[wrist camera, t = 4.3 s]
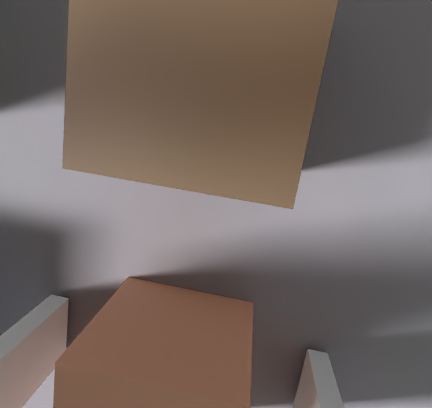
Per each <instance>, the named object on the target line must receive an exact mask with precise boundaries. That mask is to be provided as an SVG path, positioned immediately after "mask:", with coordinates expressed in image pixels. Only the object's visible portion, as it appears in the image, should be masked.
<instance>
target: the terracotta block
mask: <svg viewBox="0 0 432 408" xmlns="http://www.w3.org/2000/svg"><path fill="white" fill-rule="evenodd" d="M253 307H254V302H249V301H244V300H239V299H234V298H229V297H224V296H219V295H215V294H210V293H205V292H200V291H195V290H190V289H185V288H180V287H175V286H170V285H165V284H160V283H156V282H151V281H146V280H141V279H136V278H131V277H128V278H127V279H126V280H125V281H124V283H123V284H122V285H121V286H120V287H119V288H118V290H117V291H116V292H115V293H114V294H113V295H112V297H111V298H110V299H109V300H108V301H107V302H106V304H105V305H104V306H103V307H102V308H101V309H100V311H99V312H98V313H97V314H96V315H95V316H94V318H93V319H92V320H91V321H90V322H89V323H88V325H87V326H86V327H85V328H84V329H83V330H82V332H81V333H80V334H79V335H78V336H77V337H76V339H75V340H74V341H73V342H72V343H71V344H70V345H69V347H68V348H67V349H66V350H65V351H64V352H63V354H62V355H61V356H60V357H59V358H58V359H57V361H56V362H55V378H54V404H53V408H250V400H251V369H252V338H253Z"/></svg>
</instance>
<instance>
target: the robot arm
mask: <svg viewBox="0 0 432 408" xmlns="http://www.w3.org/2000/svg"><path fill="white" fill-rule="evenodd" d="M68 302H69V298H65V297H61V296H56V295H50V296H49V297H47V298H46V299H45V300H44V301H43V302H41V303H40V304H39V305H38V306H36V307H35V308H34V309H33V310H31V311H30V312H29V313H28V314H26V315H25V316H24V317H23V318H22V319H20V320H19V321H18V322H17V323H15V324H14V325H13V326H12V327H10V328H9V329H8V330H7V331H6V332H4V333H3V334H2V335H1V336H0V408H22V407H23V406H24V404H25V403H26V402H27V401H28V400H29V398H30V397H31V396H32V395H33V394H34V392H35V391H36V390H37V389H38V388H39V387H40V385H41V384H42V383H43V382H44V381H45V379H46V378H47V377H48V376H49V375H50V374H51V372H52V371H53V370H54V369H55V362H56V361H57V359H58V358H59V357H60V356H61V355H62V354H63V352H64V351H65V350H66V343H67V323H68ZM293 408H344V406H343V402H342V399H341V396H340V392H339V389H338V386H337V382H336V379H335V376H334V372H333V369H332V366H331V362H330V359H329V356H328V353H325V352H320V351H315V350H311V349H308V350H307V353H306V357H305V361H304V365H303V369H302V373H301V377H300V381H299V385H298V389H297V393H296V397H295V401H294V405H293Z"/></svg>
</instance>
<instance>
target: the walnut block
mask: <svg viewBox="0 0 432 408" xmlns="http://www.w3.org/2000/svg"><path fill="white" fill-rule="evenodd" d="M337 4H338V0H69V9H68V36H67V62H66V89H65V116H64V142H63V168H64V169H69V170H75V171H80V172H86V173H92V174H97V175H103V176H109V177H114V178H120V179H126V180H131V181H137V182H143V183H148V184H154V185H160V186H165V187H171V188H177V189H182V190H188V191H193V192H199V193H205V194H210V195H216V196H222V197H227V198H233V199H239V200H244V201H250V202H256V203H261V204H267V205H273V206H278V207H284V208H290V209H293V207H294V202H295V197H296V193H297V188H298V184H299V179H300V174H301V170H302V165H303V160H304V156H305V151H306V147H307V142H308V137H309V133H310V128H311V124H312V119H313V114H314V110H315V105H316V101H317V96H318V91H319V87H320V82H321V77H322V73H323V68H324V64H325V59H326V54H327V50H328V45H329V41H330V36H331V31H332V27H333V22H334V18H335V13H336V8H337Z"/></svg>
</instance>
